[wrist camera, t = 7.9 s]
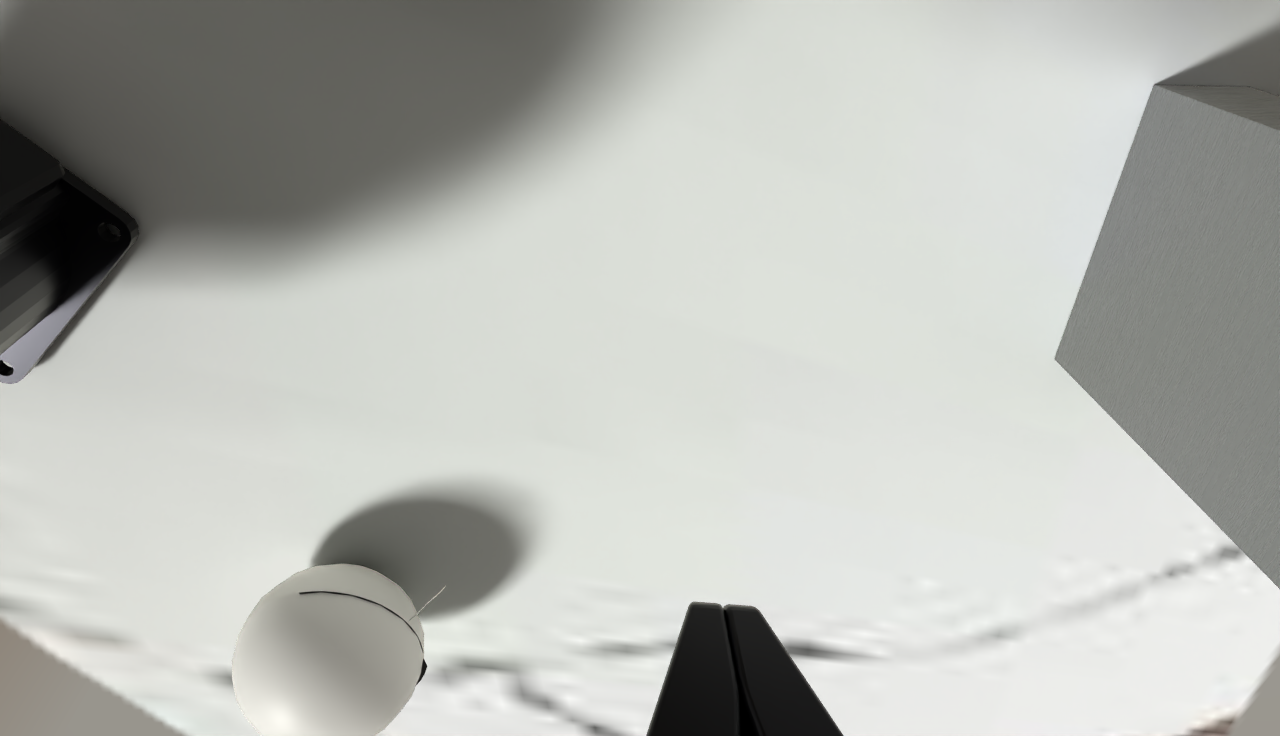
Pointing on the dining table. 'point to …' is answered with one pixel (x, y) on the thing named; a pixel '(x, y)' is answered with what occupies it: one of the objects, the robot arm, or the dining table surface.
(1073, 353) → the gray bookend
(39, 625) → the dining table surface
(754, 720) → the robot arm
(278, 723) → the seamed sphere
